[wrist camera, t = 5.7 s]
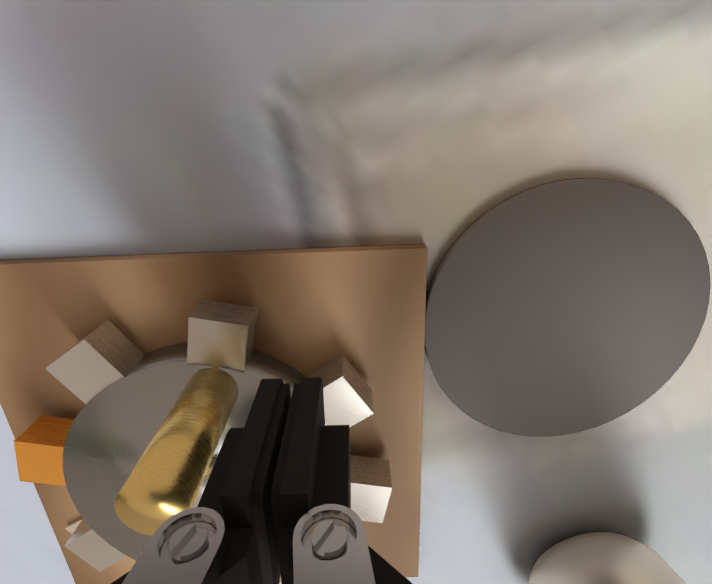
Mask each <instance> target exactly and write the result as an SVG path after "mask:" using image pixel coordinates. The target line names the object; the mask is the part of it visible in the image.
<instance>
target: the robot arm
mask: <svg viewBox="0 0 712 584" xmlns="http://www.w3.org/2000/svg"><path fill="white" fill-rule="evenodd" d="M280 575H281V582H282V584H412V583H411V582H410V581H409V580H408V579H406V578H405V577H404V576H403V575H402V574H401V573H400V572H398V571H397V570H396V569H395V568H394V567H393V566H391V565H390V564H389V563H388V562H387V561H386V560H385V559H383V558H382V557H381V556H380V555H379V554H378V553H377V552H375V551H374V550H373V549H372V548H371V547H370V546H368V544H367V539H366V534H365V529H364V526H363V523H362V521H361V519H360V517H359V516H358V515H357V514H356V513H355V512H354V511H353V510H351V458H350V428H349V425H325V412H324V396H323V381H322V377H315V378H302V381H301V383H295V384H294V388H293V392H292V397H291V389H290V384H289V383H285V384H283V380H282V378H276V379H261V381H260V384H259V387H258V390H257V392H256V395H255V398H254V401H253V404H252V407H251V409H250V412H249V415H248V418H247V421H246V424H245V426H244V427H242V428H230V429H229V430H228V432H227V434H226V437H225V439H224V442H223V444H222V447H221V449H220V452H219V454H218V457H217V459H216V461H215V464H214V466H213V469H212V471H211V474H210V476H209V479H208V481H207V484H206V486H205V489H204V491H203V494H202V496H201V499H200V501H199V504H198V506H197V507H194V508H190V509H186V510H183V511H181V512H179V513H177V514H175V515H173V516H171V517H170V518H169V519H168V520H166V521H165V522H164V523H163V524H162V525H161V526H160V527H159V528H158V529H157V531H156V532H155V533H154V534H153V536H152V538H151V539H150V541H149V542H148V544H147V545H146V547H145V548H144V550H143V552H142V553H141V555H140V556H139V558H138V559H137V561H136V562H135V564H134V565H133V567H132V569H131V570H130V571H129V572H127V573H126V574H124V575H123V576H121V577H120V578H118V579H117V580H115V581H114V582H112V583H111V584H279V581H280Z"/></svg>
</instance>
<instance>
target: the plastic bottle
mask: <svg viewBox="0 0 712 584" xmlns="http://www.w3.org/2000/svg"><path fill="white" fill-rule="evenodd" d="M528 584H687V583H686V582H685V581H684V580H683V579H682V578H681V577H680V576H679V575H678V574H677V573H676V572H675V571H674V570H673V569H672V568H671V567H670V566H669V565H668V564H667V563H666V562H665V561H664V559H663V558H662V557H661V556H660V555H659V554H658V553H657V552H655V551H654V550H652V549H651V548H649V547H648V546H646V545H644V544H642V543H639V542H637V541H635V540H633V539H631V538H629V537H626V536H624V535H621V534H616V533H610V532H595V533H586V534H582V535H577V536H574V537H571V538H568V539H566V540H563V541H561V542H559V543H558V544H556V545H554V546H552V547H551V548H550V549H548V550H547V551H545V552H544V553H543V554H542V555H541V556H540V557H539V558H538V560H537V561H536V563H535V564H534V566H533V568H532V571H531V574H530V578H529V583H528Z"/></svg>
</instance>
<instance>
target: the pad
mask: <svg viewBox="0 0 712 584" xmlns="http://www.w3.org/2000/svg"><path fill="white" fill-rule="evenodd" d="M709 295H710V273H709V265H708V261H707V257H706V253H705V250H704V248H703V245H702V243H701V240H700V238H699V236H698V234H697V233H696V231H695V230H694V228H693V227H692V225H691V224H690V222H689V221H688V220H687V219H686V218H685V217H684V216H683V215H682V213H681V212H680V211H679V210H678V209H676V208H675V207H674V206H673V205H671V204H670V203H669V202H667V201H666V200H665V199H663V198H661V197H659V196H657V195H655V194H654V193H652V192H650V191H648V190H645V189H642V188H639V187H636V186H633V185H630V184H626V183H622V182H616V181H611V180H605V179H592V178H577V179H568V180H559V181H555V182H551V183H547V184H542V185H539V186H536V187H533V188H531V189H528V190H525V191H523V192H520V193H518V194H516V195H514V196H512V197H510V198H508V199H506V200H504V201H502V202H501V203H499V204H498V205H496V206H495V207H493V208H492V209H490V210H489V211H487V212H486V213H484V214H483V215H482V216H481V217H480V218H478V219H477V220H476V221H475V222H474V223H473V224H471V225H470V226H469V227H468V228H467V229H466V230H465V231H464V232H463V233H462V235H461V236H460V237H459V238H458V239H457V240H456V241H455V242H454V244H453V245H452V246H451V248H450V249H449V251H448V252H447V253H446V255H445V256H444V258H443V259H442V261H441V263H440V265H439V267H438V269H437V270H436V272H435V274H434V277H433V279H432V282H431V285H430V287H429V290H428V293H427V298H426V308H425V349H426V354H427V357H428V360H429V363H430V366H431V368H432V371H433V374H434V376H435V378H436V380H437V381H438V383H439V385H440V387H441V388H442V390H443V391H444V392H445V394H446V395H447V396H448V398H449V399H450V400H451V401H452V402H453V403H454V404H455V405H456V406H457V407H458V408H459V409H460V410H462V411H463V412H465V413H466V414H467V415H469V416H470V417H471V418H473V419H475V420H477V421H479V422H481V423H482V424H484V425H486V426H489V427H492V428H494V429H497V430H500V431H504V432H508V433H512V434H518V435H526V436H556V435H565V434H570V433H575V432H580V431H584V430H587V429H590V428H594V427H597V426H599V425H602V424H604V423H607V422H609V421H612V420H614V419H616V418H618V417H619V416H621V415H623V414H625V413H627V412H629V411H630V410H632V409H634V408H635V407H637V406H638V405H640V404H641V403H643V402H644V401H645V400H647V399H648V398H649V397H650V396H652V395H653V394H654V393H655V392H657V391H658V390H659V389H660V388H661V387H662V386H663V385H664V384H665V383H666V382H667V381H668V380H669V379H670V378H671V377H672V376H673V374H674V373H675V372H676V371H677V370H678V368H679V367H680V366H681V365H682V363H683V362H684V360H685V359H686V357H687V356H688V354H689V353H690V351H691V350H692V348H693V346H694V344H695V342H696V340H697V338H698V336H699V334H700V331H701V328H702V326H703V323H704V320H705V317H706V313H707V308H708V304H709Z"/></svg>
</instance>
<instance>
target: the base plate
mask: <svg viewBox="0 0 712 584" xmlns="http://www.w3.org/2000/svg"><path fill="white" fill-rule="evenodd" d="M426 272H427V247H426V245H425V244H412V245H386V246H360V247H334V248H308V249H282V250H256V251H230V252H204V253H178V254H152V255H126V256H100V257H74V258H48V259H22V260H0V404H1V406H2V408H3V411H4V413H5V415H6V418H7V420H8V423H9V425H10V427H11V430H12V432H13V435H14V437H15V439H17V438H18V437H19V436H20V435H21V434H22V433H23V432H24V431H25V430H26V429H27V428H28V427H29V426H30V425H31V424H32V423H34V422H35V421H36V420H37V419H38V418H39V417H40V416H41V415H46V416H54V417H62V418H70V419H75V418H76V416H77V415H78V413H79V412H80V411H81V410H82V409H83V408H84V406H85V405H86V404H85V403H84V402H83V401H81V400H80V399H79V398H78V397H77V396H76V395H75V394H73V393H72V392H71V391H70V390H69V389H68V388H67V387H65V386H64V385H63V384H62V383H61V382H60V381H59V380H57V379H56V378H55V377H54V376H53V375H52V374H51V373H49V372H48V371H47V370H46V369H45V368H46V367H47V366H49V365H50V364H51V363H52V362H54V361H55V360H56V359H57V358H59V357H60V356H61V355H62V354H64V353H65V352H66V351H67V350H69V349H70V348H71V347H72V346H74V345H75V344H76V343H78V342H79V341H80V340H82V339H83V338H84V337H86V336H87V335H88V334H90V333H91V332H92V331H94V330H95V329H96V328H98V327H99V326H100V325H102V324H103V323H104V322H106V321H107V320H109V321H110V322H111V323H112V324H113V325H114V326H115V327H116V328H117V329H118V330H119V331H120V332H121V333H122V334H123V335H124V336H125V337H126V338H127V339H128V340H129V341H130V342H131V343H132V344H134V345H135V346H136V347H137V348H138V349H139V350H140V351H141V352H142V353H143V354H147V353H149V352H151V351H154V350H156V349H160V348H164V347H167V346H171V345H176V344H183V343H188V319H189V316H190V315H191V314H192V312H193V311H194V310H195V309H196V308H197V306H198V305H199V304H200V303H201V302H202V300H203V299H205V300H211V301H218V302H224V303H231V304H237V305H244V306H250V307H257V318H256V328H255V338H254V348H253V350H256V351H260V352H263V353H265V354H268V355H270V356H272V357H274V358H277V359H279V360H281V361H283V362H284V363H286V364H288V365H289V366H291V367H293V368H294V369H296V370H298V371H299V372H300V373H301V374H303V375H304V376H305V377H307V376H309V375H311V374H312V373H314V372H315V371H317V370H319V369H320V368H322V367H323V366H325V365H327V364H328V363H330V362H331V361H333V360H335V359H336V358H338V357H339V356H341V355H344V356H345V357H346V359H347V360H348V361H349V362H350V363H351V365H352V366H353V367H354V368H355V370H356V371H357V372H358V373H359V374H360V376H361V377H362V378H363V379H364V381H365V382H366V383H367V384H368V385H369V387H370V388H371V389H372V400H373V412H374V414H372V415H370V416H368V417H367V418H365V419H363V420H362V421H360V422H358V423H356V424H355V425H353V426H351V427H349V428H350V455H357V456H365V457H373V458H381V459H388V460H389V465H390V473H391V482H392V490H391V494H390V498H389V501H388V505H387V509H386V512H385V516H384V520H383V523H377V522H368V521H362V523H363V526H364V529H365V534H366V539H367V544H368V546H370V547H371V548H372V549H373V550H374V551H375V552H377V553H378V554H379V555H380V556H381V557H382V558H383V559H385V560H386V561H387V562H388V563H389V564H390V565H391V566H393V567H394V568H395V569H396V570H397V571H398V572H400V573H401V574H402V575H403V576H404V577H418V562H419V526H420V490H421V453H422V417H423V381H424V344H425V308H426ZM34 485H35V487H36V490H37V492H38V494H39V497H40V499H41V502H42V504H43V506H44V509H45V511H46V514H47V516H48V518H49V521H50V523H51V526H52V528H53V530H54V533H55V535H56V537H57V540H58V542H59V545H60V547H61V549H62V552H63V554H64V557H65V559H66V561H67V564H68V566H69V569H70V571H71V573H72V576H73V578H74V581H75V583H76V584H111V583H112V582H114V581H115V580H117V579H118V578H120V577H121V576H123V575H124V574H126V573H127V572H129V571H130V570H131V569H132V567H133V565H134V564H135V562H136V561H135V560H133V559H132V558H130V557H128V556H126V557H125V558H123V559H121V560H120V561H118V562H116V563H114V564H113V565H111V566H109V567H107V568H106V569H104V570H102V571H101V572H99V571H98V570H96V569H95V568H94V567H92V566H91V565H90V564H88V563H87V562H85V561H84V560H83V559H81V558H80V557H78V556H77V555H76V554H74V553H73V552H72V551H70V550H69V549H67V548H66V547H65V544H66V543H67V541H68V540H69V538H70V537H71V535H72V534H73V532H74V531H75V530H76V528H77V527H78V525H79V524H80V522H81V521H82V519H83V517H82V516H81V515H80V513H79V512H78V510H77V509H76V507H75V505H74V503H73V501H72V499H71V497H70V495H69V492H68V489H67V487H66V486H59V485H51V484H42V483H34ZM279 582H281V575H280V581H279Z"/></svg>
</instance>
